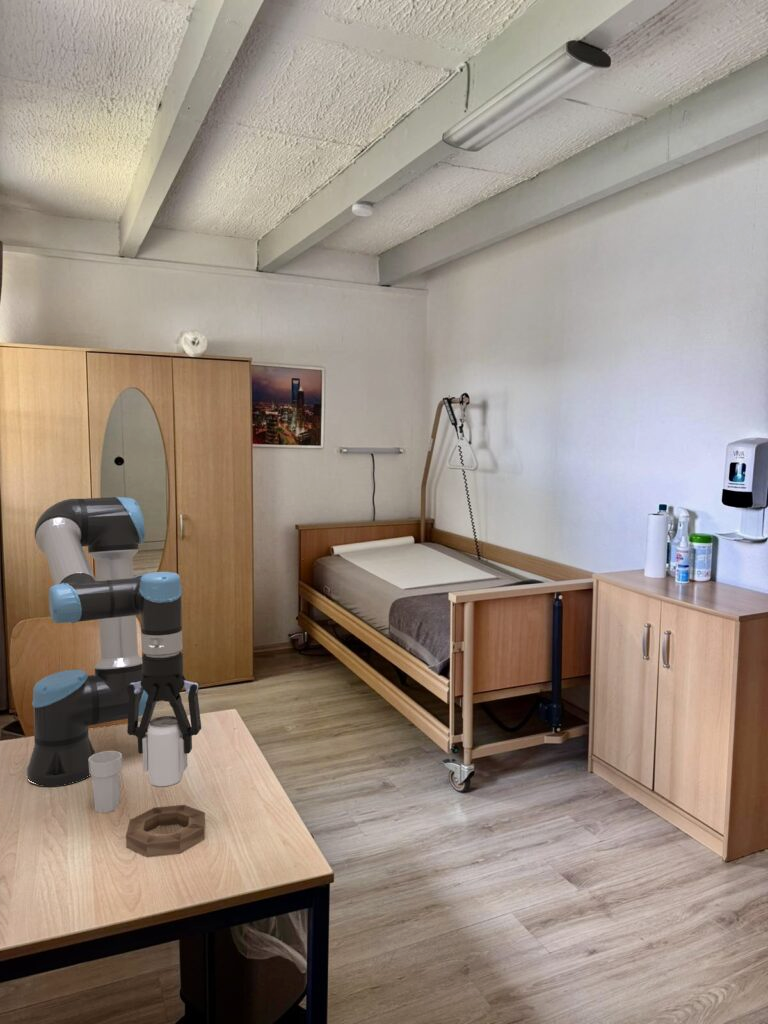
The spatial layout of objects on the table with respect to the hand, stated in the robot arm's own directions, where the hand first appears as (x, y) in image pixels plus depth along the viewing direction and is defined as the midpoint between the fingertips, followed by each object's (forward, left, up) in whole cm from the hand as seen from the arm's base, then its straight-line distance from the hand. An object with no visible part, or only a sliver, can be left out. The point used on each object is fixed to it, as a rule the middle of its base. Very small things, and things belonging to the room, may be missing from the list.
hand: (165, 768), depth 144 cm
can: (0, 0, -3) cm, 3 cm away
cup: (-20, +1, -14) cm, 25 cm away
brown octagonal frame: (0, 0, -14) cm, 14 cm away
